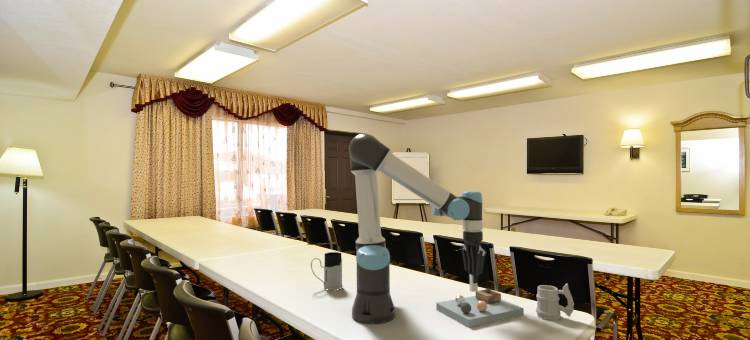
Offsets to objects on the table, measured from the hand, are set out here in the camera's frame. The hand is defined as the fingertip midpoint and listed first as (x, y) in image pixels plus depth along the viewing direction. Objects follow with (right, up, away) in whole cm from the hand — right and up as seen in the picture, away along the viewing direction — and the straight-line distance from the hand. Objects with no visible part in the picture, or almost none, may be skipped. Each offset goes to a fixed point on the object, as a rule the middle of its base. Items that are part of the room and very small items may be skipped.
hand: (473, 290), depth 143 cm
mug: (+23, -3, -18) cm, 29 cm away
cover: (+3, -1, -7) cm, 8 cm away
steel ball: (-8, +1, -13) cm, 15 cm away
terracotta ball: (-2, +1, -19) cm, 19 cm away
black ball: (-8, +1, -20) cm, 22 cm away
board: (-2, -3, -13) cm, 14 cm away
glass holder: (-60, -5, +17) cm, 62 cm away
